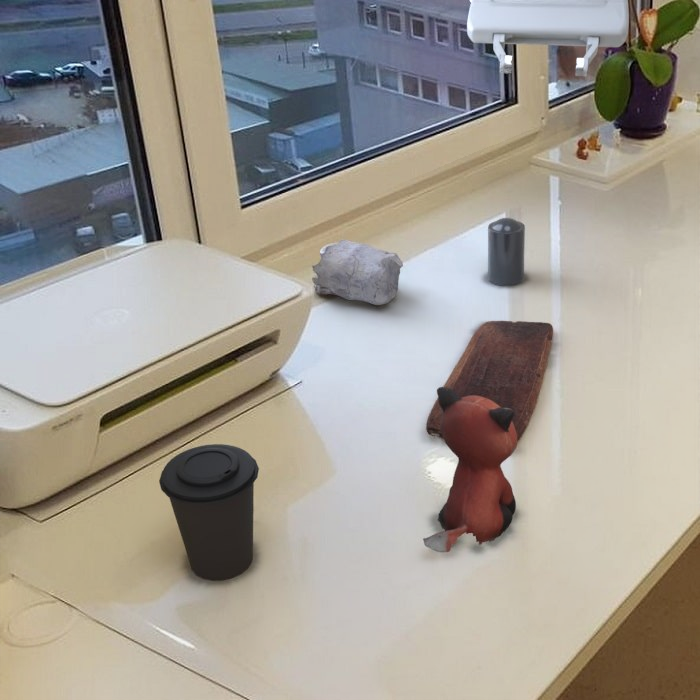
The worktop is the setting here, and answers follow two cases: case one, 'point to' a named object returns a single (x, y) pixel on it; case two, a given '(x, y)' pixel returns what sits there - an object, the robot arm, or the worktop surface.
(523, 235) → the dome-topped grey canister
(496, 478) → the stuffed fox
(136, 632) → the worktop surface
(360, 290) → the stone
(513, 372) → the wooden tablet
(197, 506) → the coffee cup
